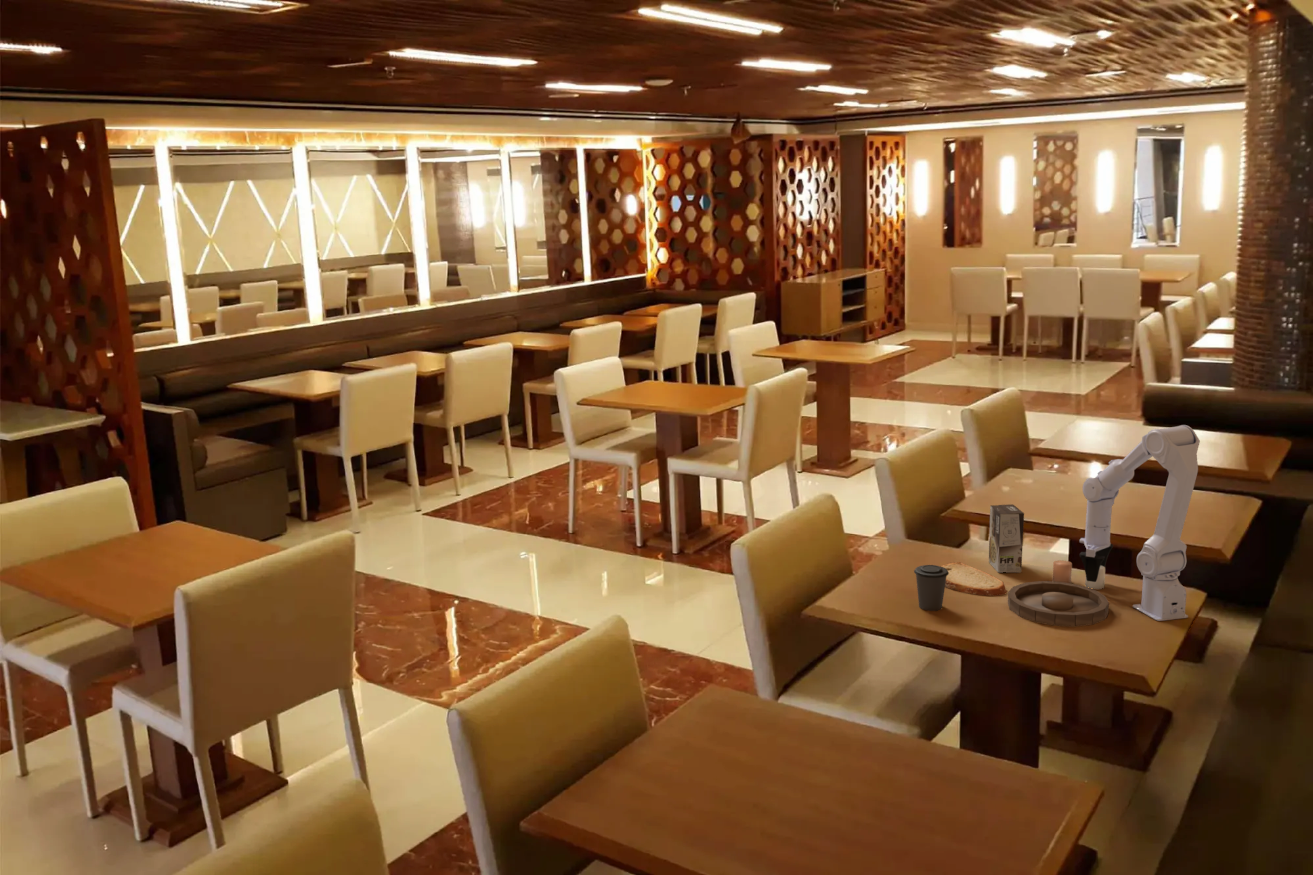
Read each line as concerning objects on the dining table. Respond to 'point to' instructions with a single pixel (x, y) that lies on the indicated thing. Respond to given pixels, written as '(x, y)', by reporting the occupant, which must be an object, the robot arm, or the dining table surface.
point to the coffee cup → (931, 586)
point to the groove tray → (1058, 603)
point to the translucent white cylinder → (1099, 582)
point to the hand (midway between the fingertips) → (1094, 576)
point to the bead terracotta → (1062, 571)
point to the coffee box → (1006, 538)
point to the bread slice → (972, 580)
